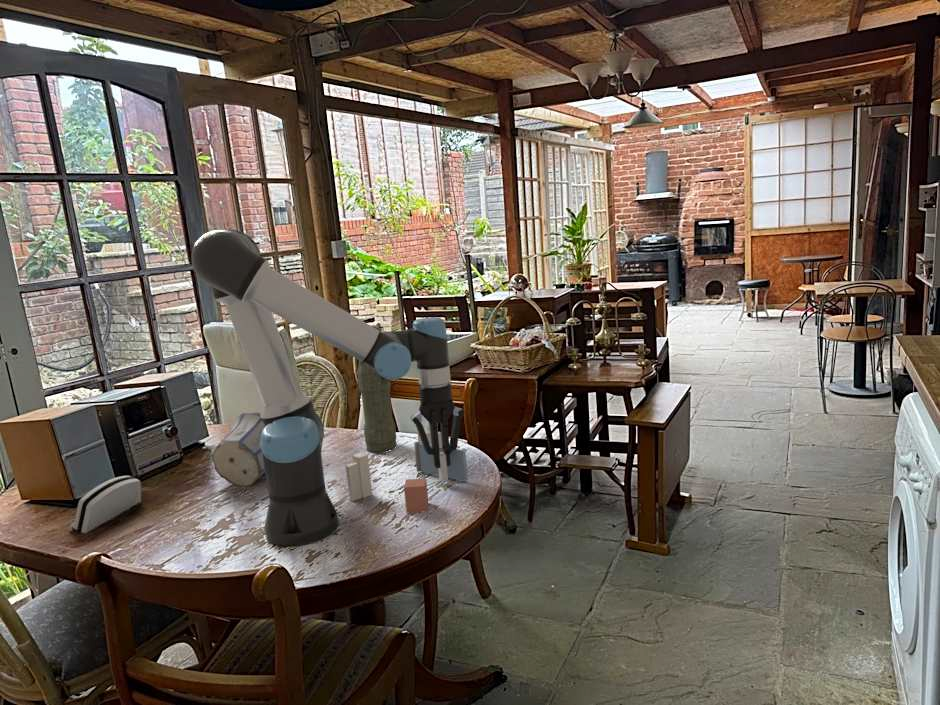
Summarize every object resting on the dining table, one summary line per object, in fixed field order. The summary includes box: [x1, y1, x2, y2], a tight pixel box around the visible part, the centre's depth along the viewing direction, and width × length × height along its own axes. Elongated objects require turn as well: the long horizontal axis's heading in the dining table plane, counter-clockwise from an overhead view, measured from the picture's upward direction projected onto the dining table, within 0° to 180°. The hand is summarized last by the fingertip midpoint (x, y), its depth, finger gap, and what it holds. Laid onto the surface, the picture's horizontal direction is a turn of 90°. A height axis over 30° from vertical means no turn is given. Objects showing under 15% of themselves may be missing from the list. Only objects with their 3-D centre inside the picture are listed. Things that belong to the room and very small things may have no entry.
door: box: [413, 441, 469, 482], centre depth 164 cm, size 16×1×8 cm, turn 53°
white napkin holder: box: [69, 475, 142, 534], centre depth 156 cm, size 17×5×10 cm, turn 163°
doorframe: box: [345, 429, 442, 502], centre depth 163 cm, size 29×2×10 cm, turn 134°
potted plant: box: [211, 411, 265, 487], centre depth 180 cm, size 18×18×30 cm
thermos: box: [354, 325, 398, 454], centre depth 186 cm, size 9×12×35 cm
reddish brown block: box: [403, 477, 429, 514], centre depth 147 cm, size 4×4×6 cm
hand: (443, 479), depth 159 cm, fingers closed
